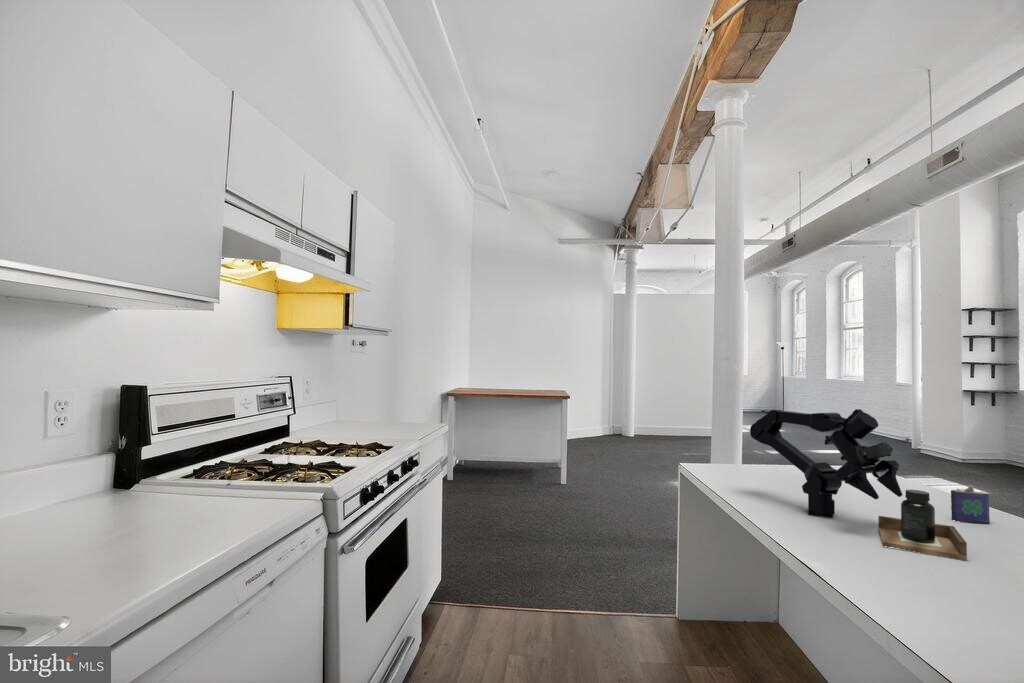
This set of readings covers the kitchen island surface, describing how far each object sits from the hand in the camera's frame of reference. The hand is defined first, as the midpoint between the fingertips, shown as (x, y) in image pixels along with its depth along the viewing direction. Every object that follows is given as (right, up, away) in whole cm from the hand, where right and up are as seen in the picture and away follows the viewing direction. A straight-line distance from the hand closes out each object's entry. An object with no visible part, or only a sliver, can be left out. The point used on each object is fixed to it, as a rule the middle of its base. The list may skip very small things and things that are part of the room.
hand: (889, 497), depth 139 cm
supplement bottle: (+2, -9, -7) cm, 11 cm away
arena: (+2, -10, -7) cm, 13 cm away
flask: (+34, -12, +14) cm, 39 cm away
